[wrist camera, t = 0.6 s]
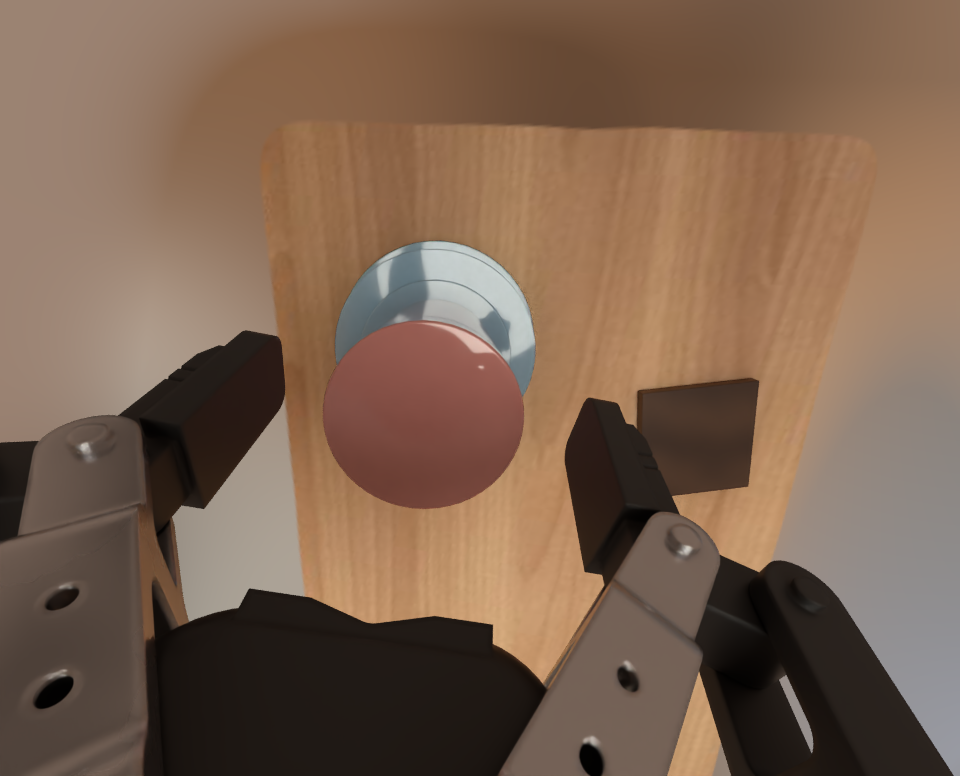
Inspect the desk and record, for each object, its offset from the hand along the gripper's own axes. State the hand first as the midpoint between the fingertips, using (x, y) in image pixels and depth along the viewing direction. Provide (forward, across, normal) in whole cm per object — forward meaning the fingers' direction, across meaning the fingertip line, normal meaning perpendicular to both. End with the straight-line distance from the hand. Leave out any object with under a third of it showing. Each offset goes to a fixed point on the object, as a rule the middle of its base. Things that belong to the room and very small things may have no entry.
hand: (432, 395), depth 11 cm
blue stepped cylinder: (+17, +1, +7) cm, 19 cm away
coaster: (+17, -20, +12) cm, 28 cm away
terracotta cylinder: (+11, +1, +5) cm, 12 cm away
